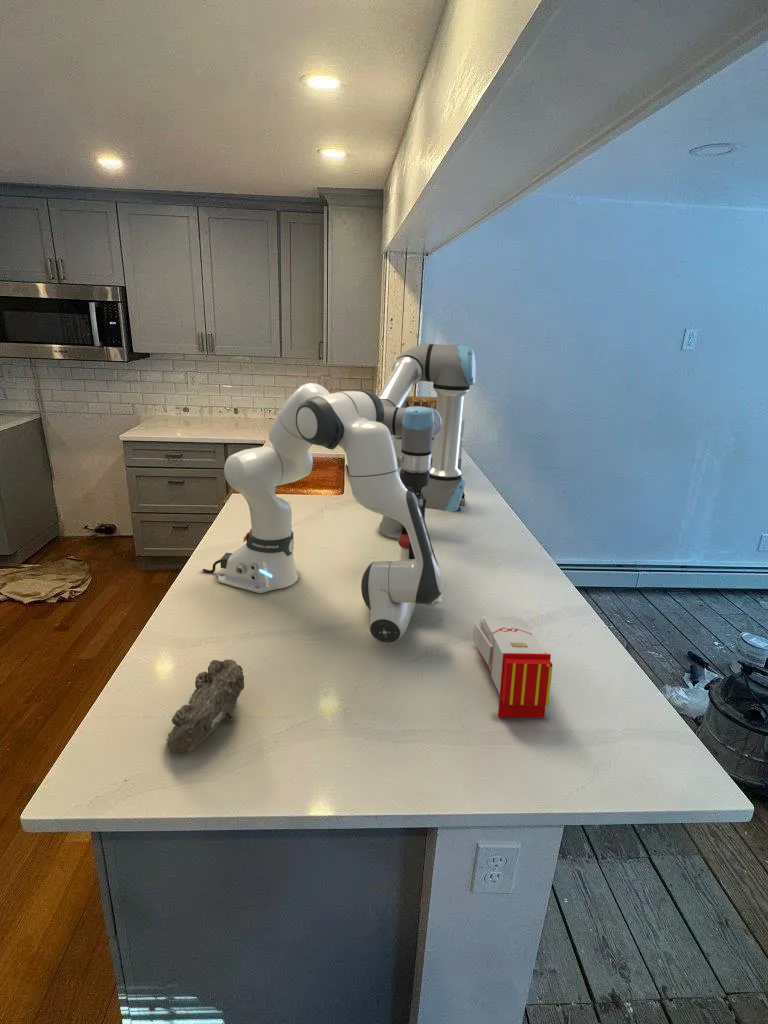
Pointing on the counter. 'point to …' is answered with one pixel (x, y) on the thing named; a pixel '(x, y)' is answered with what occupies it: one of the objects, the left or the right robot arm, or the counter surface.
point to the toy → (515, 666)
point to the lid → (404, 541)
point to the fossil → (206, 705)
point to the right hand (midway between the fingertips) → (409, 552)
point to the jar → (404, 554)
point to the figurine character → (462, 501)
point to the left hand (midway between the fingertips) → (408, 575)
